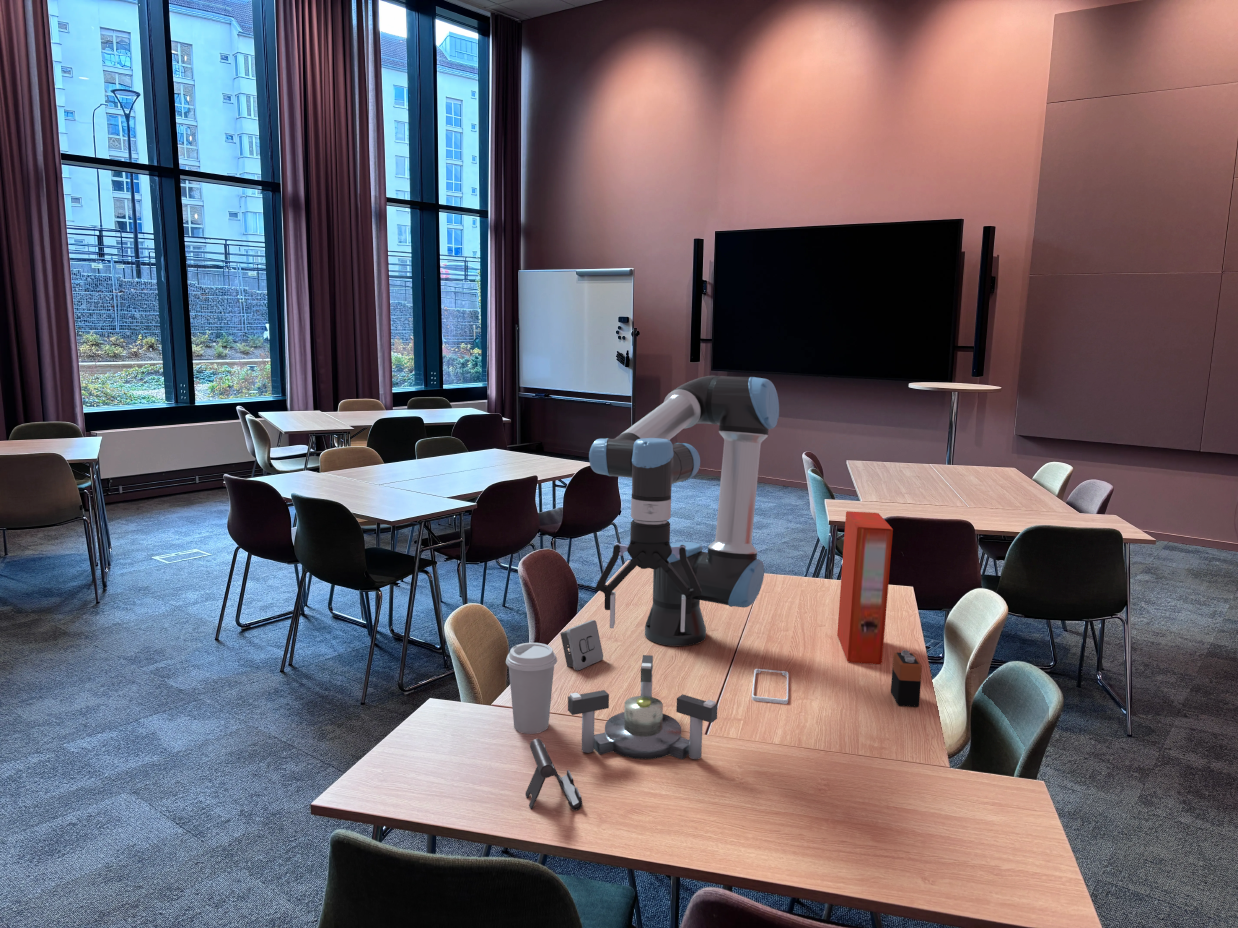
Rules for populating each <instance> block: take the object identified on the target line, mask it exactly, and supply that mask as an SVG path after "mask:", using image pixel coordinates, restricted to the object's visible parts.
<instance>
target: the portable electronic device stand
mask: <svg viewBox="0 0 1238 928" xmlns="http://www.w3.org/2000/svg"><path fill="white" fill-rule="evenodd" d="M529 748H530V751H531V754H532V756H533V758H534V761H535V763H536V768H535V770H534V773H533V775H532V777H531V779H530V782H529V784H528V786H527V789H526V791H525V798H526V799H529V797H530V796H531V799H530V802H529V803H528V808H529V809H530V810H533V809H534V807H535V804H536V801H537V800H538V797H539V795H540V792H541V790H542V787H543V785H544V784H545V781H546V779H548V778H550V777H555V779H556V780H557V782H558V784H559V786H560V788H561V791H562V793H563V795H564V797H565V799H566V800H567V804H568V805H569V807H570V808H571V810H572V811H575V812H576V811H579V810H580V809H582V807H583V798H582V795H581V793H580V791H579V789H578V786H577V787H576V786H575V783H574V778H573V775H572V773H571V771H570V769H567V770H566V774H564V775H563V776H561V775H560V774H559V773H558V771H557V769H556V766H555V765H554V763H553V761H552V759H551V757H550V754H549V752H548V751H547V748H546V745H545V743H543V741H542V740H541V739H540V738H535V739H532V740H531V741H530V743H529Z"/></svg>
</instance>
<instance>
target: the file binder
mask: <svg viewBox="0 0 1238 928" xmlns="http://www.w3.org/2000/svg"><path fill="white" fill-rule="evenodd" d="M844 523H845V524H844V536H843V548H842V549H843V551H842V562H841V563H842V564H841V565H842V566H841V578H840V588H839V589H840V591H839V605H838V620H837V632H836V633H837V634H836V636H837V638H838V640H839V641H838V642H839V643H840V646H841V649H842V651H843V654H844V656H845V660H846V661H847V662H848V663H853V664H865V665H880V666H881V665H882V664H883V655H884V643H885V632H886V631H885V630H886V618H887V607H888V594H889V582H890V570H891V559H892V558H891V557H892V556H891V555H892V545H893V534H894V533H893V531H894V529H893V528H892V526H890V524H889V523H888V522H887V521H886V520H885V518H883V516H882V515H881V514H880V513H878V512H869V511H868V512H867V511H850V510H849V511H848V510H846V511H845V522H844Z"/></svg>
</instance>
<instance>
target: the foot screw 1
mask: <svg viewBox="0 0 1238 928" xmlns="http://www.w3.org/2000/svg"><path fill="white" fill-rule="evenodd" d="M609 708H610V694H609V693H608V692H607V691H606V690H605V689H603V690H596V691H592V692H586V693H578V692H573V693H572V692H571V693H569V696H567V711H568V712H569V714H571V716H574V715H580V714H581V751H582V752H583V753H587V754H588V753H592V752H594V751H595V749H594V735H595V712H597V711H601V710H602V711H603V710H606V709H609Z"/></svg>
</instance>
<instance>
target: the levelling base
mask: <svg viewBox="0 0 1238 928" xmlns="http://www.w3.org/2000/svg"><path fill="white" fill-rule="evenodd" d="M663 704H664V703H663V702H662V701H661V700H660V699H658V698H656V697H653V696H652V697H650V696H641V695H636V696H631V697H629V698H627V699H626V700H624V711H623V712H620V713H617V714H614V715H613V716H611V717H610V718H608V719H607V720H606V722H605V724H604V732H600V733H596V734H595V733H594V751H595V752H597V754H598V755H599V756H601V755H604V754H608V753H615V754H617V755H619V756H622V757H625V758H630V759H634V760H635V759H636V760H654V759H660V758H661V759H662V758H665V757H667V756H668V757H669V756H671V757H674V758H676V759H680V760H684V759H685V758H686V757H689V738H686V737H682V726H681V724H680V722H679V721H678V720H676V718H674V717H672V716H670V715H668V714H666V713H664V712H663V710H664V705H663Z"/></svg>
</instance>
